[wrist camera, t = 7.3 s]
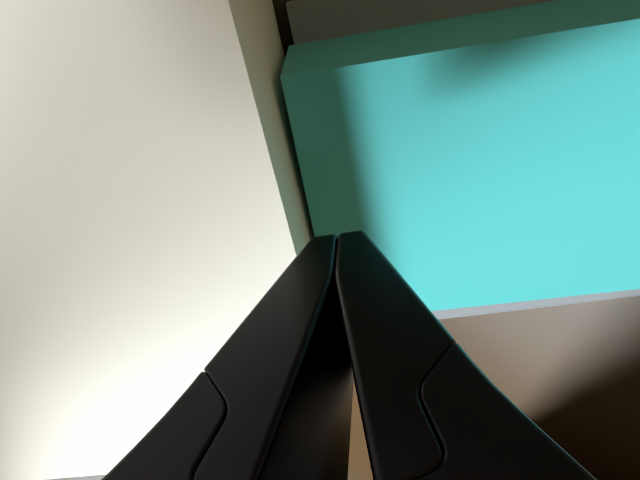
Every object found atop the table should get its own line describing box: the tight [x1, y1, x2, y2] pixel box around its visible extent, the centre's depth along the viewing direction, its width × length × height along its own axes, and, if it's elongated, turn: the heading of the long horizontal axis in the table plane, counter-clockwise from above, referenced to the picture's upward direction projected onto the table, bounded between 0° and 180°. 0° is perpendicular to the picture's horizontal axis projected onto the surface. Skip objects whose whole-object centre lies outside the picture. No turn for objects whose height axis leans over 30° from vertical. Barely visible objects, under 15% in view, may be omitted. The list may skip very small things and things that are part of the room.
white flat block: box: [0, 0, 315, 480], centre depth 13 cm, size 13×12×4 cm
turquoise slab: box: [280, 0, 640, 311], centre depth 12 cm, size 8×6×2 cm
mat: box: [286, 0, 640, 320], centre depth 13 cm, size 10×9×1 cm
